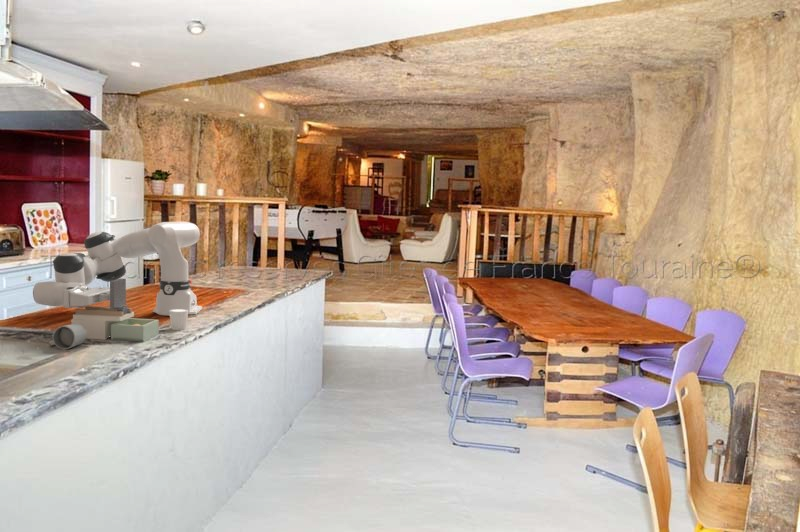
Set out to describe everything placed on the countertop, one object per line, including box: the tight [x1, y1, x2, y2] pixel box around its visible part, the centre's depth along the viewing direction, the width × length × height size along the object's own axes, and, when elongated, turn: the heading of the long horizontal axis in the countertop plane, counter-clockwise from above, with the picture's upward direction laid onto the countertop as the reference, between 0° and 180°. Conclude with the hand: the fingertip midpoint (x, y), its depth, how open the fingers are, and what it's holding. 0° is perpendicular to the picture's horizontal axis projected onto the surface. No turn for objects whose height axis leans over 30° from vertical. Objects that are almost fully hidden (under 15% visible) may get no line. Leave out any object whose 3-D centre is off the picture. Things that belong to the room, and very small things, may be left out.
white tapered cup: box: [169, 309, 188, 331], centre depth 246 cm, size 7×7×7 cm
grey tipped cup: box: [49, 323, 87, 350], centre depth 212 cm, size 11×8×8 cm
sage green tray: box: [110, 317, 160, 343], centre depth 229 cm, size 12×12×6 cm
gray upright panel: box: [109, 278, 129, 314], centre depth 228 cm, size 8×4×12 cm, turn 175°
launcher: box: [71, 305, 135, 341], centre depth 229 cm, size 12×17×10 cm
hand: (115, 297), depth 228 cm, fingers closed, pressing on gray upright panel
